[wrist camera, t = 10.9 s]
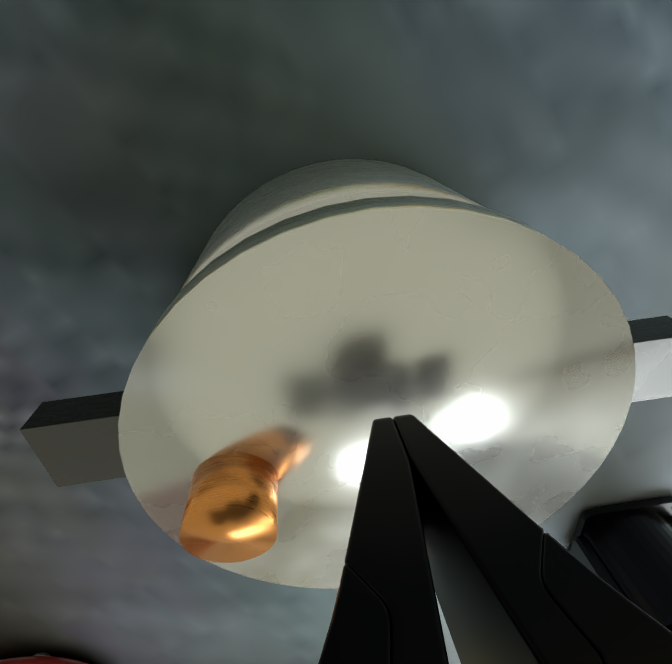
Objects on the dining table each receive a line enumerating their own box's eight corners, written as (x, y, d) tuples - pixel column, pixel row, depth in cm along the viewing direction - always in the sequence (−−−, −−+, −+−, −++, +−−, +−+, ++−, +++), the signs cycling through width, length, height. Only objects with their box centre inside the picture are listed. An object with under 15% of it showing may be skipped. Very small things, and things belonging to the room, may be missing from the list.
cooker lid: (683, 159, 8) (819, 185, 6) (555, 528, 15) (598, 599, 13) (28, 239, 8) (-67, 298, 6) (208, 583, 15) (195, 667, 13)
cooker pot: (609, 127, 14) (789, 141, 9) (545, 416, 21) (628, 517, 16) (41, 194, 14) (-109, 250, 8) (166, 472, 21) (125, 597, 15)
